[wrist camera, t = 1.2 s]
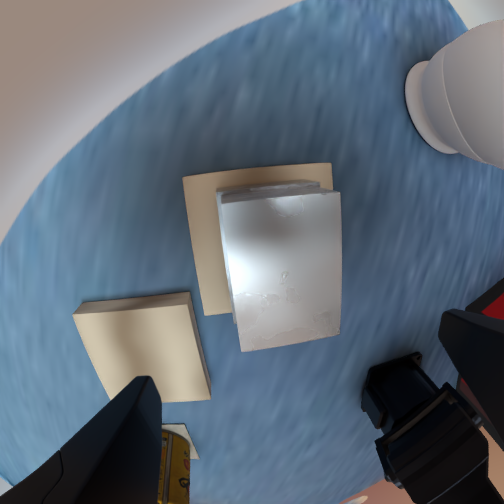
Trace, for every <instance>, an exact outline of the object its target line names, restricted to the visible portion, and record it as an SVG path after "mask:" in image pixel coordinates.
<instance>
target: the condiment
mask: <svg viewBox="0 0 504 504" xmlns="http://www.w3.org/2000/svg"><path fill="white" fill-rule="evenodd" d="M190 459H199V456H198V454H197V452H196V449H195V447H194V445H193V443H192V440H191V438H190V436H189V434H188V432H187V430H186V427H185V425H184V424H183V425H170V424H169V425H168V424H166V425H162V455H161V465H160V477H159V490H158V504H189V488H190V487H189V486H190Z"/></svg>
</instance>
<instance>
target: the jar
mask: <svg viewBox="0 0 504 504" xmlns="http://www.w3.org/2000/svg"><path fill="white" fill-rule="evenodd" d="M405 96H406V103H407V107H408V111H409V114H410V116H411V119H412V121H413V123H414V125H415V127H416V129H417V130H418V132H419V133H420V135H421V136H422V137H423V139H424V140H425V141H426V142H427V143H428V144H429V145H430V146H432V147H433V148H434V149H436V150H438V151H440V152H442V153H446V154H454V153H458V152H459V153H461V154H463V155H465V156H467V157H469V158H471V159H473V160H476V161H479V162H482V163H486V164H490V165H493V166H495V167H498V168H500V169H503V170H504V20H497V21H493V22H488V23H485V24H482V25H479V26H477V27H475V28H472V29H471V30H469V31H467V32H465V33H464V34H462V35H461V36H459V37H458V38H456V39H455V40H454V41H453V42H451V43H449V44H447V45H446V46H444V47H443V48H442V49H440V50H439V51H438V52H437V53H436V54H435V55H434V56H433V57H432V58H431V60H430V61H422V62H419V63H417V64H416V65H414V66H413V67H412V68H411V70H410V71H409V73H408V75H407V79H406V84H405Z"/></svg>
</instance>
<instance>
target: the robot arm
mask: <svg viewBox="0 0 504 504" xmlns="http://www.w3.org/2000/svg"><path fill="white" fill-rule="evenodd" d="M438 337H439V340H440V342H441V343H442V345H443V347H444V348H445V350H446V352H447V353H448V355H449V357H450V359H451V360H452V362H453V364H454V366H455V368H456V369H457V371H458V373H459V374H460V376H461V377H462V379H463V380H464V381H465V383H466V384H467V386H468V387H469V389H470V390H471V392H472V393H473V395H474V396H475V398H476V399H477V401H478V402H479V404H480V406H481V407H482V409H483V410H484V412H485V413H486V415H487V417H488V418H489V420H490V422H491V423H492V425H493V427H494V428H495V430H496V432H497V433H498V435H499V437H500V439H501V440H502V442H503V444H504V320H502V319H498V318H493V317H489V316H485V315H480V314H476V313H471V312H467V311H463V310H458V309H450V310H447V311H445V312H444V313H443V314H442V317H441V322H440V327H439V331H438ZM421 359H422V354H421V353H420V352H417V353H414V354H412V355H409V356H406V357H403V358H400V359H397V360H394V361H391V362H388V363H385V364H382V365H379V366H375V367H373V368H371V369H370V370H369V372H368V377H367V383H366V387H365V389H364V393H363V398H362V407H361V409H362V411H363V412H367V414H368V416H369V418H370V419H371V421H372V423H373V425H374V427H375V428H376V429H380V428H381V430H382V432H383V433H384V436H382V437H381V438H378V439H376V440H375V444H376V450H377V453H378V455H379V458H380V461H381V464H382V467H383V470H384V476H385V480H386V481H387V482H392V483H393V484H395V485H396V486H397V487H398V488H399V489H403V488H404V489H405V490H406V491H407V493H408V494H409V496H410V497H411V499H412V501H413V502H414V503H416V504H504V500H503V498H502V497H501V495H500V494H499V492H498V491H497V489H496V488H495V487H494V485H493V484H492V482H491V481H490V479H489V478H488V459H489V453H488V441H487V439H486V438H485V436H484V435H483V434H482V432H481V431H480V430H479V428H480V427H481V426H483V425H484V423H483V421H482V419H481V418H480V416H479V415H478V414H477V412H476V411H475V410H474V409H473V407H472V406H471V405H470V404H469V403H468V402H467V401H466V400H465V399H464V398H463V397H462V396H461V395H460V394H459V393H458V392H457V391H456V390H455V389H454V388H453V387H452V386H451V385H450V384H449V383H448V382H447V381H446V382H445V383H444V384H443V385H442V387H441V388H440V389H439V388H438V387H437V386H436V385H435V384H434V382H433V381H432V380H431V379H430V378H429V377H428V376H427V375H426V373H425V372H424V371H423V370H422V369H421V368H420V367H419V366H420V363H421ZM161 455H162V401H161V396H160V394H159V392H158V389H157V387H156V385H155V383H154V380H153V378H152V377H151V376H149V375H142V376H136V377H135V378H134V379H133V380H132V381H131V382H130V383H129V384H128V385H126V386H125V387H124V388H123V389H122V390H121V391H120V392H119V393H118V394H117V395H116V396H115V397H114V398H113V399H112V400H111V401H110V402H109V403H108V404H107V405H106V406H104V407H103V408H102V409H101V410H100V411H99V412H98V413H97V414H96V415H95V416H94V417H93V418H92V419H91V420H90V421H89V422H88V423H87V424H86V425H84V426H83V427H82V428H81V429H80V430H79V431H78V432H77V433H76V434H75V435H74V436H73V437H72V438H71V439H70V440H69V441H68V442H66V443H65V444H64V445H63V446H62V447H61V448H60V450H58V451H57V452H56V453H55V454H54V455H52V456H51V457H50V458H49V459H48V460H47V461H46V462H45V463H44V464H42V465H41V466H40V467H39V468H38V469H37V470H35V471H34V472H33V473H31V474H30V475H29V476H28V477H26V478H25V479H24V480H22V481H21V482H19V483H18V484H17V485H15V486H14V487H13V488H11V489H10V490H8V491H7V492H6V493H4V494H3V495H1V496H0V504H158V490H159V477H160V465H161Z"/></svg>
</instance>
